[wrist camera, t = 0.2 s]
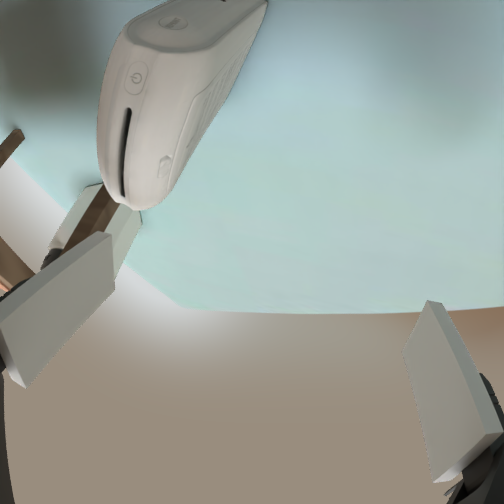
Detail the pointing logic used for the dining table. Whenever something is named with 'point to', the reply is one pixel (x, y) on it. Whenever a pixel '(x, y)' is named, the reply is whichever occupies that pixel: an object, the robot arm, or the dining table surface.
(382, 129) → the dining table surface
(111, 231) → the jar
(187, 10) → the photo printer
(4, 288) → the trapdoor
